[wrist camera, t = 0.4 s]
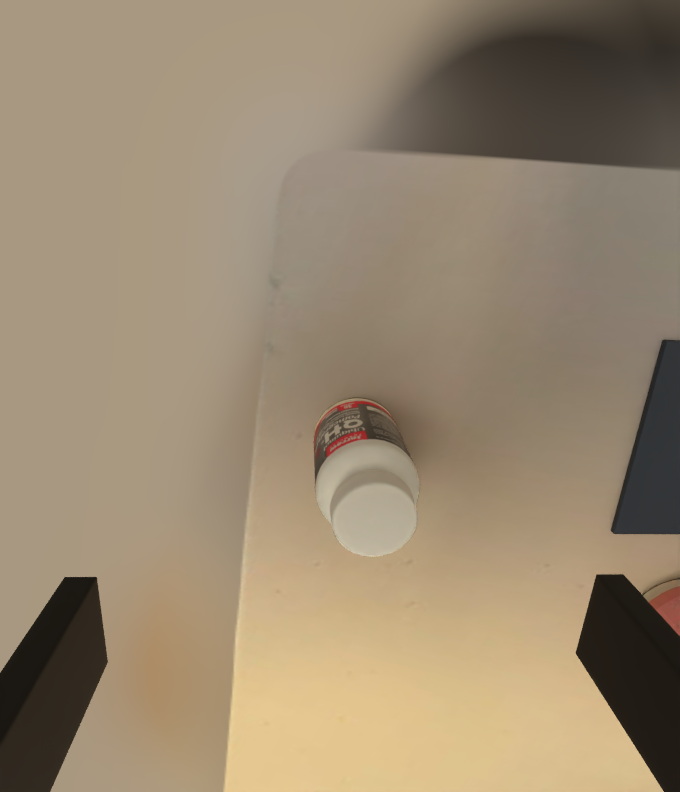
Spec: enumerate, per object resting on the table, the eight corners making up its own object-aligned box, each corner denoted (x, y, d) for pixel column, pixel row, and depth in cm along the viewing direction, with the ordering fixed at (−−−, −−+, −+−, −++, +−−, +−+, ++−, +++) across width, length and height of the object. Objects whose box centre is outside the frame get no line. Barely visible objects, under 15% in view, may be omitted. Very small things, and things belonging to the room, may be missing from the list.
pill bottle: (341, 380, 30) (358, 448, 21) (412, 421, 32) (457, 502, 22) (297, 449, 32) (294, 541, 23) (366, 486, 33) (391, 588, 24)
